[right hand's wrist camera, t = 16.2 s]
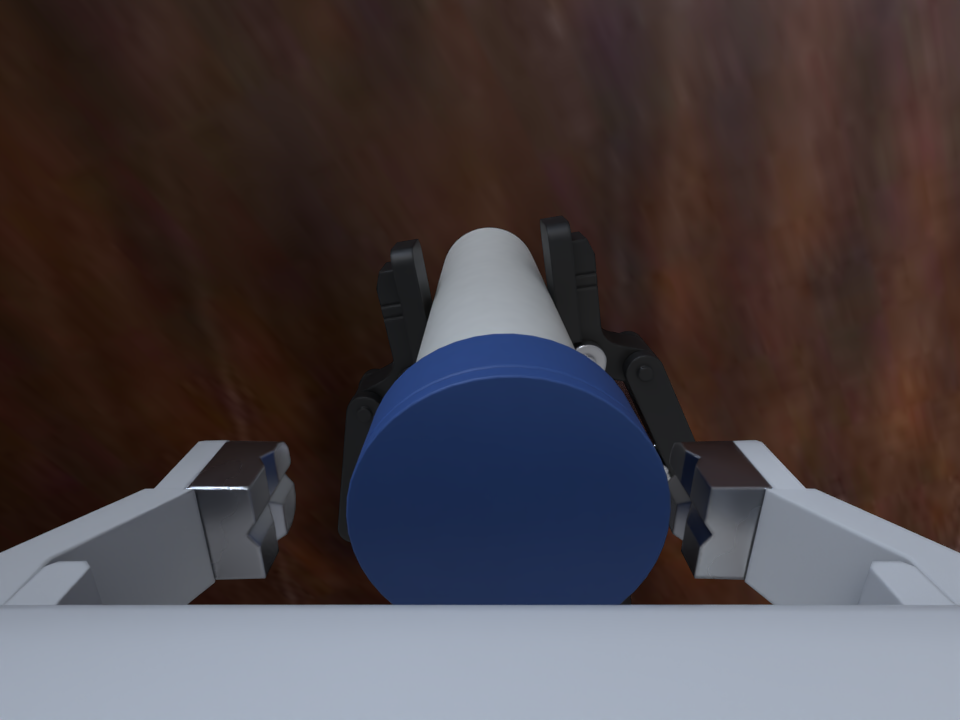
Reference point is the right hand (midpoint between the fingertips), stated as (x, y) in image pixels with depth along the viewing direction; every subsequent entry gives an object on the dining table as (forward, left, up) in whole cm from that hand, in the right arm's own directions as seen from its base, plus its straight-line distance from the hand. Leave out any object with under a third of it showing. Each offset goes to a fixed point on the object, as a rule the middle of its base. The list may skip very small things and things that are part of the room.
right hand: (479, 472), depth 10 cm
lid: (0, 0, +2) cm, 2 cm away
